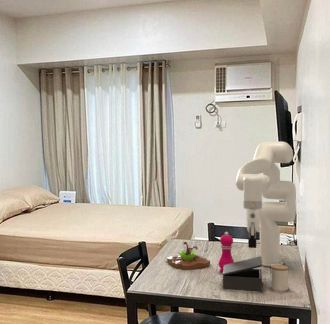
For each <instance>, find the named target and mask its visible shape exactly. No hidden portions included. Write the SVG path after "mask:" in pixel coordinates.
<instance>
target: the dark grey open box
mask: <svg viewBox="0 0 330 324" xmlns="http://www.w3.org/2000/svg"><path fill="white" fill-rule="evenodd" d="M222 289H224V290H231V291H233V290H234V291H243V292H244V291H246V292H257V293H262V292H263V274H262V269H261V268H254V269H250V270H245V271H241V272H237V273H233V274H228V275H224V276H223V275H222Z"/></svg>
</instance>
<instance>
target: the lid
mask: <svg viewBox="0 0 330 324" xmlns="http://www.w3.org/2000/svg"><path fill="white" fill-rule="evenodd" d="M262 267H263V266H262V259H261V256H260V255H259V256H256V257H252V258H246V259H243V260H239V261H234V263H230V264H226V265H224V269H223V273H222V277H223V276H224V275H228V274H233V273H237V272H241V271H245V270H250V269H259V268H262Z"/></svg>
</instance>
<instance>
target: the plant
mask: <svg viewBox="0 0 330 324" xmlns="http://www.w3.org/2000/svg"><path fill="white" fill-rule="evenodd" d="M182 245H185V246H186V248H185V250H183V251H182V250H181V251H180V252H179V251H177V254H175V255H171V256H168V257H166V262H167V263H168V264H169V265H170V266H172V267H173V268H175V269H182V270H185V271H186V270H187V271H192V270H196V269H204V268H207V267H209V266H210V265H211V260H209V259H207V258H206V257H203V256H201V255H198V254H197V251H198V250H199V247H198V246H192V247H189V244H188V242H187V241H182ZM193 249H195V251H193ZM196 250H197V251H196Z"/></svg>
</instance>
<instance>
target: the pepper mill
mask: <svg viewBox="0 0 330 324" xmlns="http://www.w3.org/2000/svg"><path fill="white" fill-rule="evenodd" d="M219 243H220V244H221V245H220V249H221V256H220V258H219V260H218V267H219V273H221V274H223V269H224V265H226V264H230V263H234V262H235V261H234V258H233V256H232V249H233V243H234V239H233V237H232V236H231V235H230V234H229V232H228V231H225V232H224V234H223V235H221V237H220V238H219Z"/></svg>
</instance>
